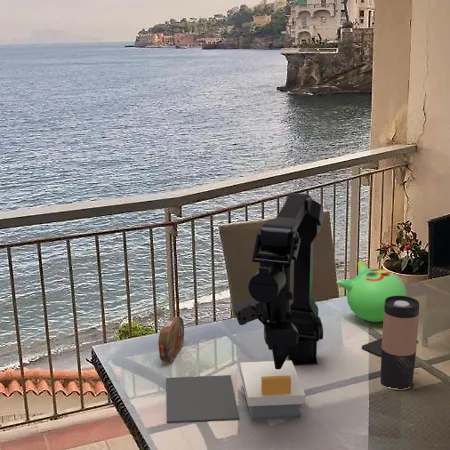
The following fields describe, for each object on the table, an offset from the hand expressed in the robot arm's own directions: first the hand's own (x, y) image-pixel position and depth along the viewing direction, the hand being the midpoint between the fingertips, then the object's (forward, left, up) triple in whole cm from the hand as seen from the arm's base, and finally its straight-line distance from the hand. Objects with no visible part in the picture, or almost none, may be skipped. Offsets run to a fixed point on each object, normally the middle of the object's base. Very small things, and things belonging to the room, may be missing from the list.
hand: (274, 359), depth 142 cm
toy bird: (-36, -50, -14) cm, 64 cm away
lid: (0, -6, -10) cm, 11 cm away
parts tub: (0, -6, -13) cm, 15 cm away
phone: (-35, -32, -14) cm, 50 cm away
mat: (+15, -9, -13) cm, 22 cm away
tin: (+21, -32, -14) cm, 41 cm away
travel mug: (-30, -12, -14) cm, 36 cm away
